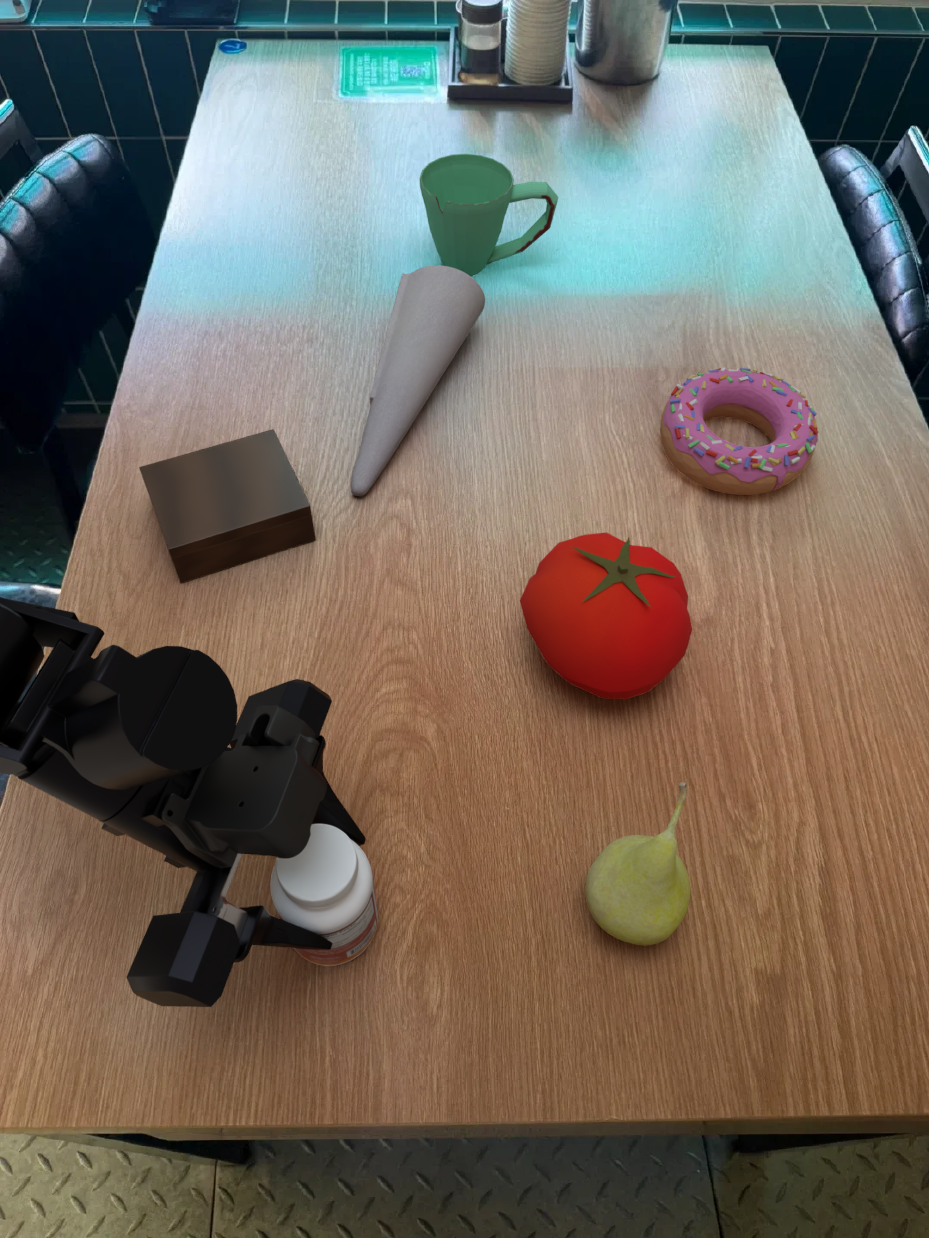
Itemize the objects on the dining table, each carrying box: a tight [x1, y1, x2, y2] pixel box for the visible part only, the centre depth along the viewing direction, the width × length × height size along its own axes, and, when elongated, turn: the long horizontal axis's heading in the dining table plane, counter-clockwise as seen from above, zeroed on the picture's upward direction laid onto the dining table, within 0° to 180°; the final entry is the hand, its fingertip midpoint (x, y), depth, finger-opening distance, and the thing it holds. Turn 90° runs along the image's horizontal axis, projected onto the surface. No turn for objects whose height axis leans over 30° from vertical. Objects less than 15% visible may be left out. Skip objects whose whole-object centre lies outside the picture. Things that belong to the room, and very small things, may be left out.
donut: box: [659, 366, 819, 496], centre depth 88 cm, size 14×14×5 cm
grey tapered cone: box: [350, 264, 486, 497], centre depth 91 cm, size 8×9×26 cm
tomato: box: [519, 531, 693, 700], centre depth 72 cm, size 13×12×11 cm
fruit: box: [584, 781, 692, 947], centre depth 60 cm, size 7×8×12 cm
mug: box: [419, 153, 559, 277], centre depth 103 cm, size 15×10×10 cm
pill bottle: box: [269, 824, 379, 967], centre depth 59 cm, size 6×6×11 cm
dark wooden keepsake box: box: [139, 428, 317, 584], centre depth 82 cm, size 12×10×4 cm
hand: (345, 893), depth 58 cm, fingers open, 6 cm apart
